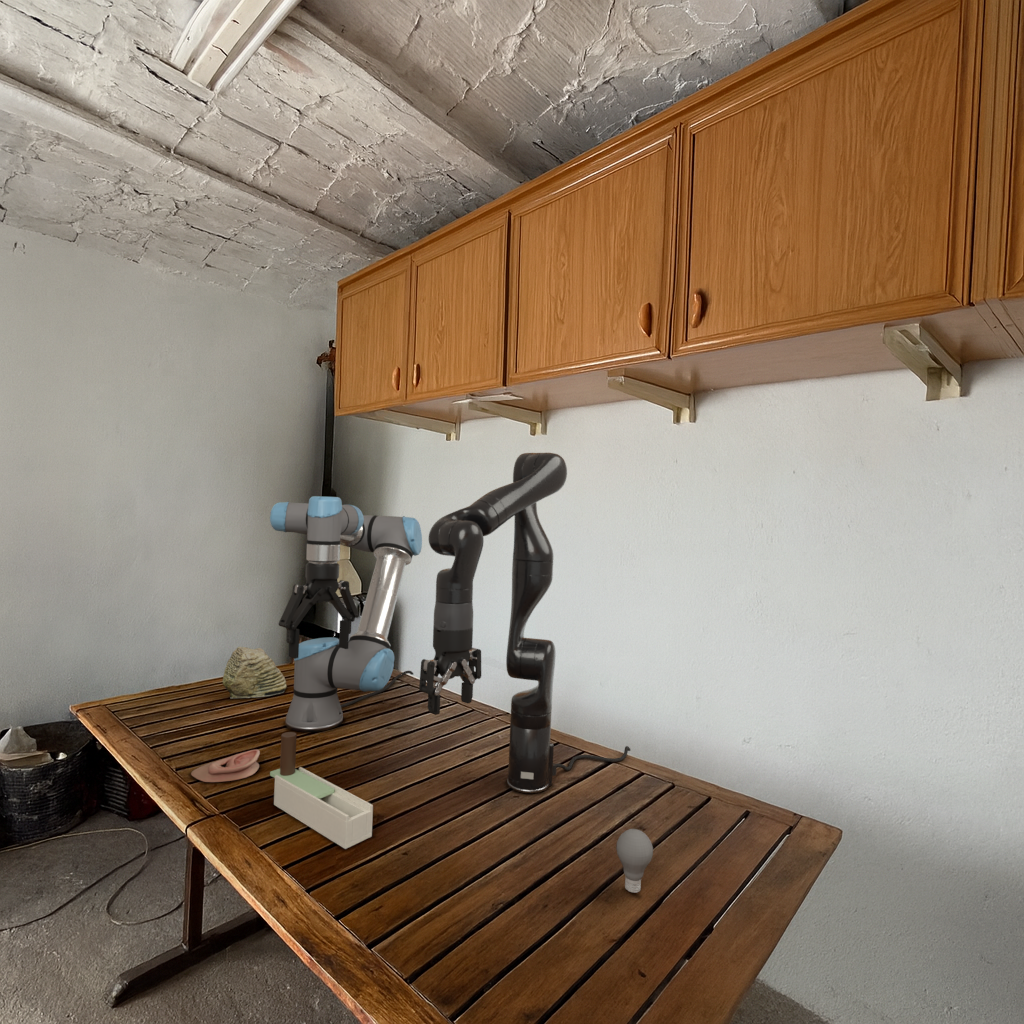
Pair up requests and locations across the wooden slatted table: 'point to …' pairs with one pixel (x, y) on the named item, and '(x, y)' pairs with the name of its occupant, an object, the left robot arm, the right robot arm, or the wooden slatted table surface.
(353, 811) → the pencil box
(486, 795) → the wooden slatted table surface
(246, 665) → the fossil
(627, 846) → the light bulb
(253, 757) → the anatomical model
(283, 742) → the sliding lid
